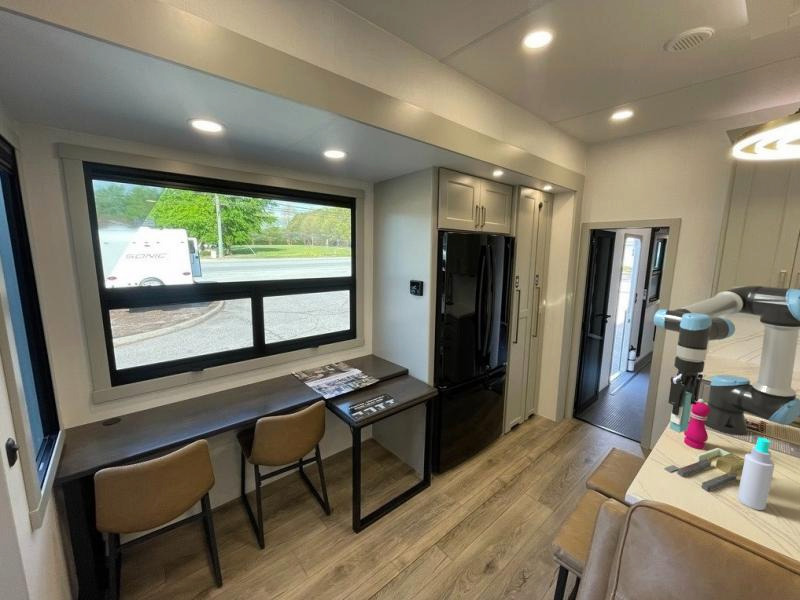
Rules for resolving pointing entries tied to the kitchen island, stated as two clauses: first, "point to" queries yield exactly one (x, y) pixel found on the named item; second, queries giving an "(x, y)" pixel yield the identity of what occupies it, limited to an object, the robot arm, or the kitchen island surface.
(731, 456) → the olive cube
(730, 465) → the olive yellow cube
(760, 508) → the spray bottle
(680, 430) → the teal rectangular block
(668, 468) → the mat
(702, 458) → the pale green l-shape
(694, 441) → the pepper mill
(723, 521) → the kitchen island surface
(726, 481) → the channel
